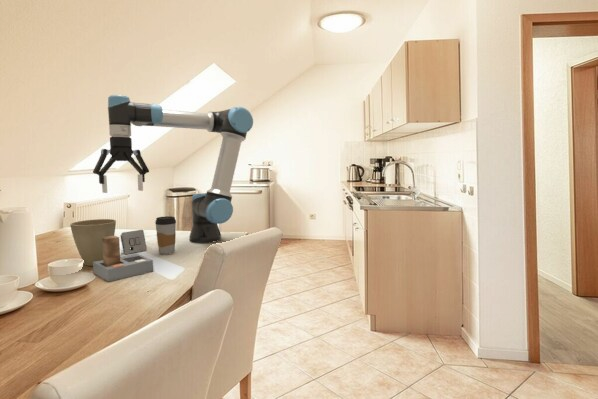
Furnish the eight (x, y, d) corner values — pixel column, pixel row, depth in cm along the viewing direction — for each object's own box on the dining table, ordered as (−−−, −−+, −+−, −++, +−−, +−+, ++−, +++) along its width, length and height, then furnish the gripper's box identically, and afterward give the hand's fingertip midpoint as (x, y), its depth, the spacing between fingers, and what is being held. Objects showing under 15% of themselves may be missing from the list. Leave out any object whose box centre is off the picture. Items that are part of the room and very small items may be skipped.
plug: (116, 269, 125) (114, 235, 123) (120, 271, 122) (119, 237, 121) (103, 271, 122) (101, 237, 120) (108, 274, 119) (106, 239, 118)
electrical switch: (125, 255, 147) (123, 232, 147) (120, 254, 151) (118, 232, 150) (147, 250, 155) (145, 229, 154) (141, 250, 158) (139, 229, 158)
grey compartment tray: (137, 264, 135) (136, 252, 134) (153, 271, 126) (152, 259, 125) (93, 273, 123) (92, 261, 123) (108, 281, 115) (107, 268, 114)
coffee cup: (181, 251, 154) (180, 216, 152) (168, 255, 146) (167, 219, 144) (165, 249, 157) (164, 215, 155) (151, 254, 149) (150, 218, 147)
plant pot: (124, 257, 143) (122, 218, 141) (106, 269, 128) (103, 225, 127) (86, 258, 143) (84, 218, 141) (63, 269, 128) (60, 225, 126)
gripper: (88, 134, 126) (92, 194, 128) (156, 138, 145) (158, 190, 147) (81, 135, 131) (84, 193, 133) (147, 138, 149) (149, 189, 152)
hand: (123, 191), depth 140 cm, fingers open, 13 cm apart
